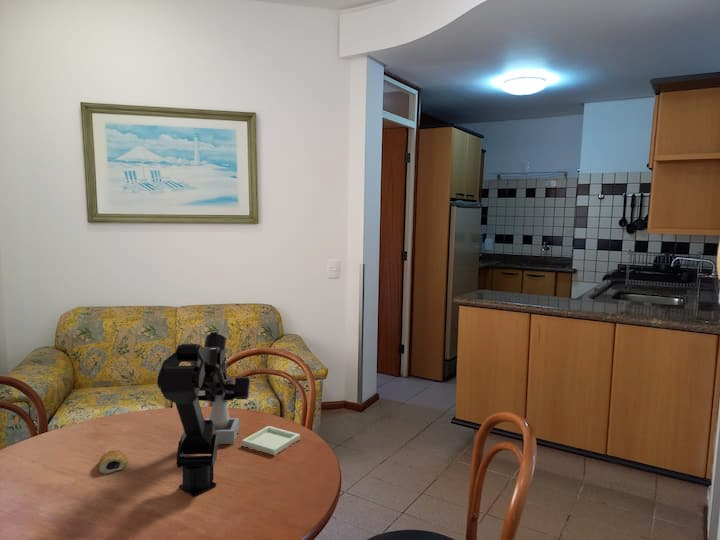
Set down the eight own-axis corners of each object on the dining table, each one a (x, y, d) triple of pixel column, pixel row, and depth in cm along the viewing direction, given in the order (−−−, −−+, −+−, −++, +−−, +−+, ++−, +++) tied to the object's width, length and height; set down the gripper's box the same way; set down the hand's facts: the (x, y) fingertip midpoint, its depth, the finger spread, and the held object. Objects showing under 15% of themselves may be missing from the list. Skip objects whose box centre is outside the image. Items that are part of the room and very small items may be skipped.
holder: (233, 444, 142) (233, 431, 142) (198, 445, 141) (198, 431, 141) (239, 430, 152) (239, 417, 152) (206, 430, 151) (206, 418, 151)
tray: (274, 456, 135) (274, 449, 135) (241, 446, 141) (241, 440, 141) (300, 440, 146) (300, 434, 145) (268, 431, 151) (268, 425, 151)
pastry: (99, 460, 131) (99, 446, 131) (127, 455, 134) (127, 442, 134) (98, 476, 123) (98, 461, 123) (128, 470, 126) (128, 456, 126)
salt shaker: (217, 431, 142) (217, 388, 141) (205, 426, 145) (205, 384, 144) (233, 425, 147) (233, 383, 146) (221, 420, 150) (221, 379, 149)
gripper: (249, 350, 140) (253, 376, 152) (182, 350, 138) (192, 377, 150) (245, 385, 133) (250, 410, 145) (175, 386, 131) (186, 411, 143)
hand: (220, 401), depth 146 cm, fingers closed on salt shaker, 3 cm apart
